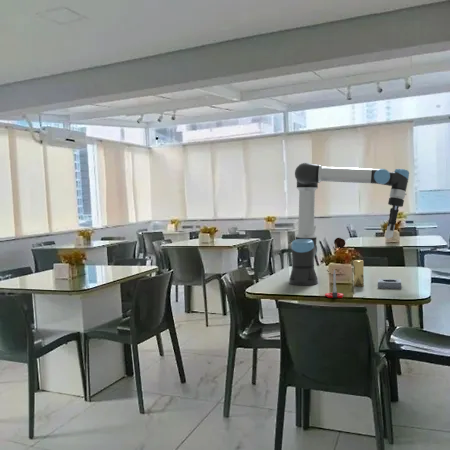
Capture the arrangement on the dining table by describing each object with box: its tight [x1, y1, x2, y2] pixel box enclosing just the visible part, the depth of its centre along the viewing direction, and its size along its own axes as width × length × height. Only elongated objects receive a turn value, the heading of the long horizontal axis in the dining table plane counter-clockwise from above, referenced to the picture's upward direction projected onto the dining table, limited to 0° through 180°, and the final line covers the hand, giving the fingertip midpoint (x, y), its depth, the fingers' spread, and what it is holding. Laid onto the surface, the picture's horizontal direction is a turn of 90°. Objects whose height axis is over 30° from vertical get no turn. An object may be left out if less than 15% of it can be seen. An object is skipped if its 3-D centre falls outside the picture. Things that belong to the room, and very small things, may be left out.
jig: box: [377, 278, 402, 290], centre depth 242 cm, size 11×10×3 cm
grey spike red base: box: [324, 269, 344, 299], centre depth 224 cm, size 8×13×9 cm
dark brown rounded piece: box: [333, 237, 346, 249], centre depth 298 cm, size 15×15×20 cm
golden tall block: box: [352, 259, 365, 288], centre depth 246 cm, size 5×5×13 cm
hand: (388, 237), depth 254 cm, fingers open, 13 cm apart
